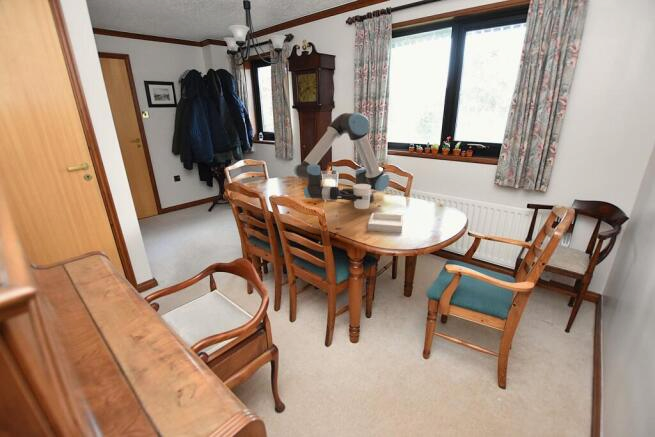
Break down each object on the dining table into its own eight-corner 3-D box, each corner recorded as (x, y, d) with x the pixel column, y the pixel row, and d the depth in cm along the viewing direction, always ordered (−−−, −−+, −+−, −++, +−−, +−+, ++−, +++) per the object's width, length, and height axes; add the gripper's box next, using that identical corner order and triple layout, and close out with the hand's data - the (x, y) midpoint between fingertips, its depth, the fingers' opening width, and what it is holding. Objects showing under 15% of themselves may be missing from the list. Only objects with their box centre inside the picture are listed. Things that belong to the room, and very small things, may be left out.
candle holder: (369, 210, 169) (370, 188, 164) (351, 209, 171) (351, 188, 166) (371, 204, 178) (371, 184, 173) (354, 203, 180) (354, 183, 175)
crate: (372, 218, 186) (372, 212, 184) (402, 221, 181) (403, 214, 180) (367, 230, 170) (368, 223, 168) (401, 232, 165) (401, 226, 164)
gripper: (335, 194, 188) (372, 196, 181) (325, 205, 168) (366, 207, 162) (335, 182, 185) (373, 183, 179) (325, 191, 165) (366, 194, 159)
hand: (370, 195), depth 170 cm, fingers closed on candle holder, 9 cm apart
